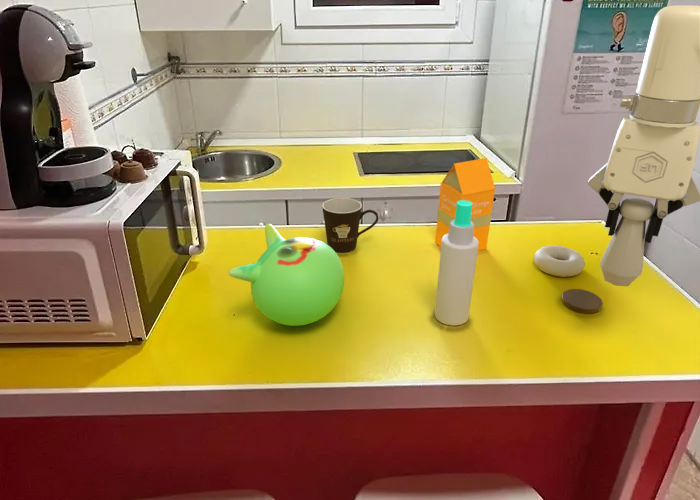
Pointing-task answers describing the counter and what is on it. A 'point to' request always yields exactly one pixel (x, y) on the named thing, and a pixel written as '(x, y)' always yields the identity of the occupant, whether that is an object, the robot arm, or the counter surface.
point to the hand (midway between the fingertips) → (629, 234)
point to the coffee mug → (343, 223)
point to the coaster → (581, 301)
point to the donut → (559, 261)
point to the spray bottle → (457, 268)
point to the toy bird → (294, 279)
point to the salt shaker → (627, 243)
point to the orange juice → (467, 198)
